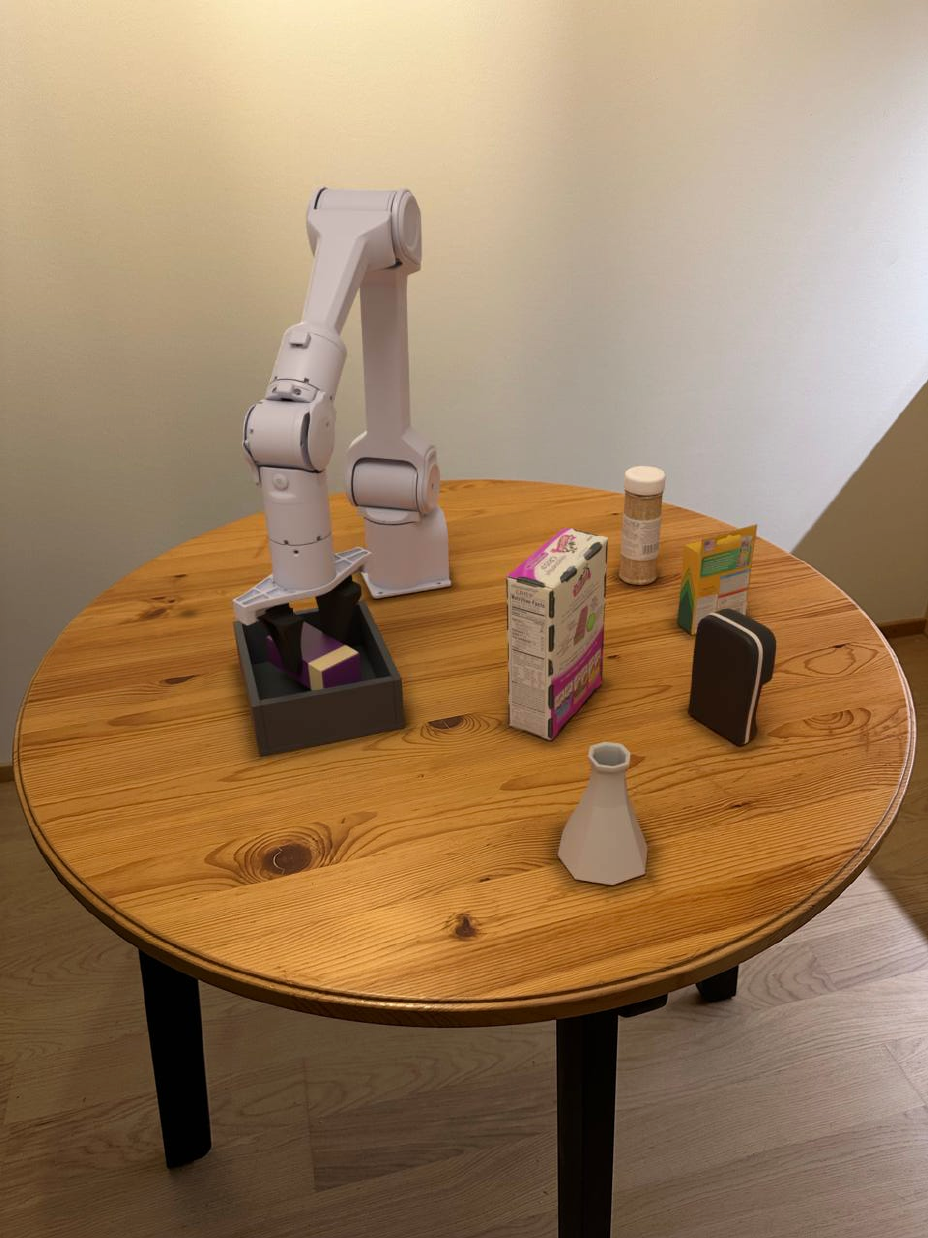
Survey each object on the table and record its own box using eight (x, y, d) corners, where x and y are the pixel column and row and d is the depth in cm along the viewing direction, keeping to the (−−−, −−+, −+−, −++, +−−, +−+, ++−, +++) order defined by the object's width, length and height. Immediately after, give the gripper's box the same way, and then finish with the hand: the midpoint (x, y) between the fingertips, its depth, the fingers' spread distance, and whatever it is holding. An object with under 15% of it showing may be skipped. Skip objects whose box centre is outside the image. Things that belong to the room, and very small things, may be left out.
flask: (550, 826, 82) (553, 728, 77) (636, 819, 82) (645, 722, 77) (565, 891, 76) (569, 789, 70) (659, 884, 76) (670, 782, 71)
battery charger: (769, 734, 92) (787, 628, 86) (740, 750, 90) (757, 643, 84) (711, 699, 97) (725, 597, 91) (684, 713, 95) (696, 609, 89)
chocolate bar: (305, 645, 101) (302, 619, 99) (362, 679, 95) (360, 653, 94) (269, 663, 98) (265, 636, 97) (325, 699, 93) (322, 672, 91)
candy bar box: (558, 670, 102) (563, 524, 93) (603, 684, 99) (612, 536, 91) (503, 727, 93) (503, 573, 85) (550, 744, 91) (555, 587, 83)
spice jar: (648, 566, 121) (656, 462, 114) (662, 584, 117) (672, 477, 110) (612, 571, 120) (619, 466, 113) (625, 589, 116) (633, 481, 109)
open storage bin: (368, 644, 107) (364, 599, 104) (404, 728, 94) (401, 678, 91) (240, 667, 103) (232, 621, 100) (259, 757, 90) (251, 707, 87)
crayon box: (728, 608, 112) (741, 513, 106) (746, 620, 109) (759, 524, 104) (674, 623, 109) (684, 527, 103) (691, 636, 107) (702, 538, 101)
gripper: (335, 495, 96) (346, 617, 103) (205, 544, 87) (227, 673, 94) (383, 516, 92) (391, 641, 99) (251, 570, 83) (270, 703, 90)
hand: (314, 659), depth 96 cm, fingers closed on chocolate bar, 4 cm apart
